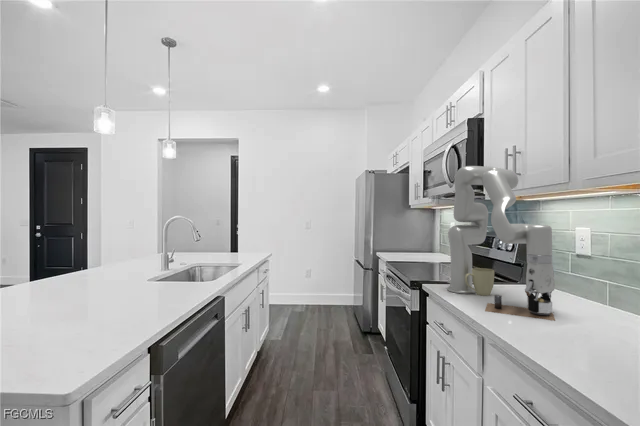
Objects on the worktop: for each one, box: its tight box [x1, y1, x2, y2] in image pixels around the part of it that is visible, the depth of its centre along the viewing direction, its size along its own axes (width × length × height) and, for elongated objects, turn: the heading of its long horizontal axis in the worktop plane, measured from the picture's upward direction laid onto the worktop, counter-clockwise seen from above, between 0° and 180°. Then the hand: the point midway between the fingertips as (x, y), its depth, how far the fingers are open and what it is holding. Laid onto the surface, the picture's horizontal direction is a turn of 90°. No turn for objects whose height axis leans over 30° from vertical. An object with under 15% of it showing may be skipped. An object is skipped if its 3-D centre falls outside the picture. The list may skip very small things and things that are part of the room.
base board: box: [484, 302, 556, 322], centre depth 119 cm, size 21×13×1 cm, turn 58°
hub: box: [530, 297, 549, 316], centre depth 115 cm, size 6×6×6 cm
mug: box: [465, 267, 495, 297], centre depth 144 cm, size 11×10×12 cm
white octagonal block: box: [526, 298, 553, 314], centre depth 115 cm, size 7×7×4 cm
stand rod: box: [493, 294, 503, 309], centre depth 122 cm, size 2×2×5 cm
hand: (539, 309), depth 115 cm, fingers closed on white octagonal block, 6 cm apart
